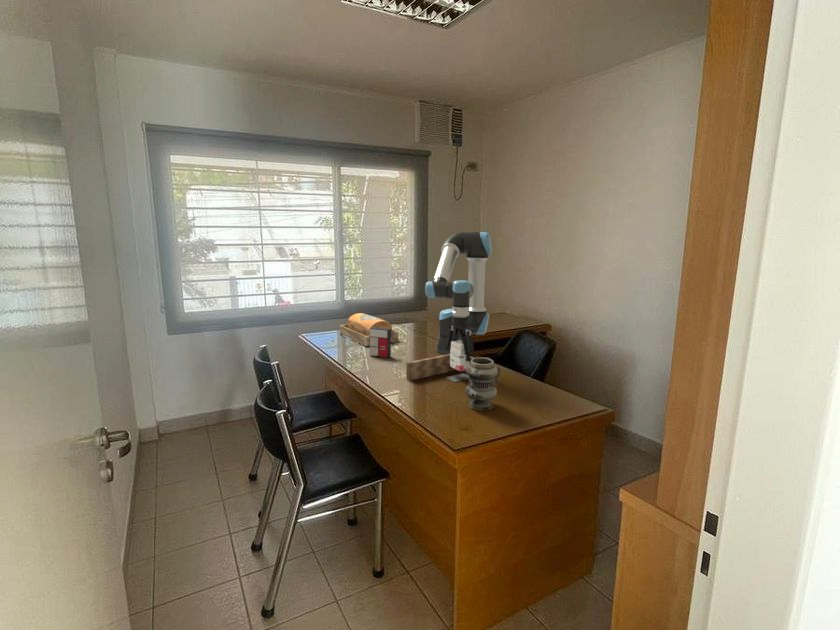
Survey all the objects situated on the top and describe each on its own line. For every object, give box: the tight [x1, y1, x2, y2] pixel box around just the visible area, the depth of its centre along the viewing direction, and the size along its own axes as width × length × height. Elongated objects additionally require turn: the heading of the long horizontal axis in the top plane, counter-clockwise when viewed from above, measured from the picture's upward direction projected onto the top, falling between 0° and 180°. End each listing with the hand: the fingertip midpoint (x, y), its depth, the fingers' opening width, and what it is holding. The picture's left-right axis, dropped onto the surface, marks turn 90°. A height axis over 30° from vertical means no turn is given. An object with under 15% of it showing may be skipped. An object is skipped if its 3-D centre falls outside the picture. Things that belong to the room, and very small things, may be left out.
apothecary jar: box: [464, 356, 498, 411], centre depth 165 cm, size 12×12×18 cm
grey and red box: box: [369, 327, 392, 359], centre depth 228 cm, size 11×4×15 cm, turn 68°
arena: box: [405, 354, 501, 387], centre depth 191 cm, size 30×28×8 cm
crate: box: [339, 323, 399, 347], centre depth 267 cm, size 22×35×6 cm, turn 35°
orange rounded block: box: [347, 312, 393, 336], centre depth 265 cm, size 30×16×14 cm, turn 34°
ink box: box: [450, 340, 468, 372], centre depth 194 cm, size 9×5×12 cm, turn 28°
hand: (459, 365), depth 195 cm, fingers closed on ink box, 9 cm apart
